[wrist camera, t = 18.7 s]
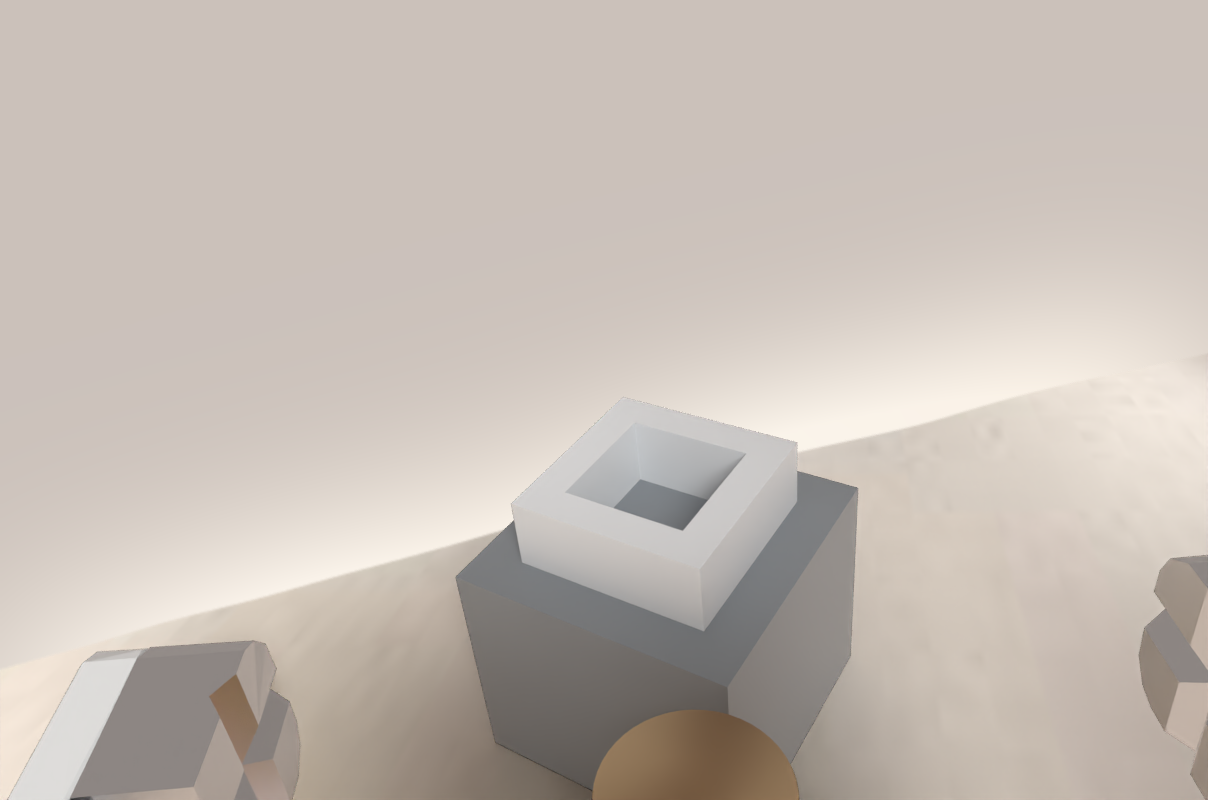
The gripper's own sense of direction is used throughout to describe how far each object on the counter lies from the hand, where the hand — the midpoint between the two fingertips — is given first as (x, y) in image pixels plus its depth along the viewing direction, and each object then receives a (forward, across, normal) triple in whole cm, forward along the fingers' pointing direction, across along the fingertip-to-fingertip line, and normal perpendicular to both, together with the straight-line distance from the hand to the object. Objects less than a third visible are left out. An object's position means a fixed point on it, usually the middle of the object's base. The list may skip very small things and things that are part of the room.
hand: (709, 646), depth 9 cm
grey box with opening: (+25, 0, +30) cm, 39 cm away
